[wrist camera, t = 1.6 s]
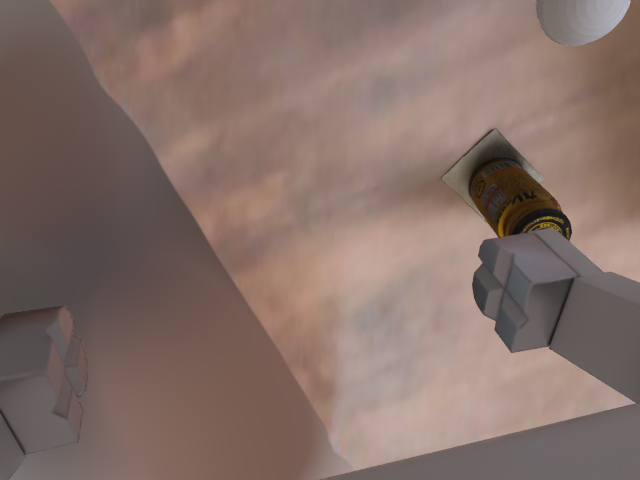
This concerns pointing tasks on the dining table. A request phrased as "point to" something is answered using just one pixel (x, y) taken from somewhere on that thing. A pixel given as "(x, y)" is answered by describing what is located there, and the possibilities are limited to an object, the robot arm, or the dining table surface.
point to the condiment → (505, 189)
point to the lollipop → (579, 19)
